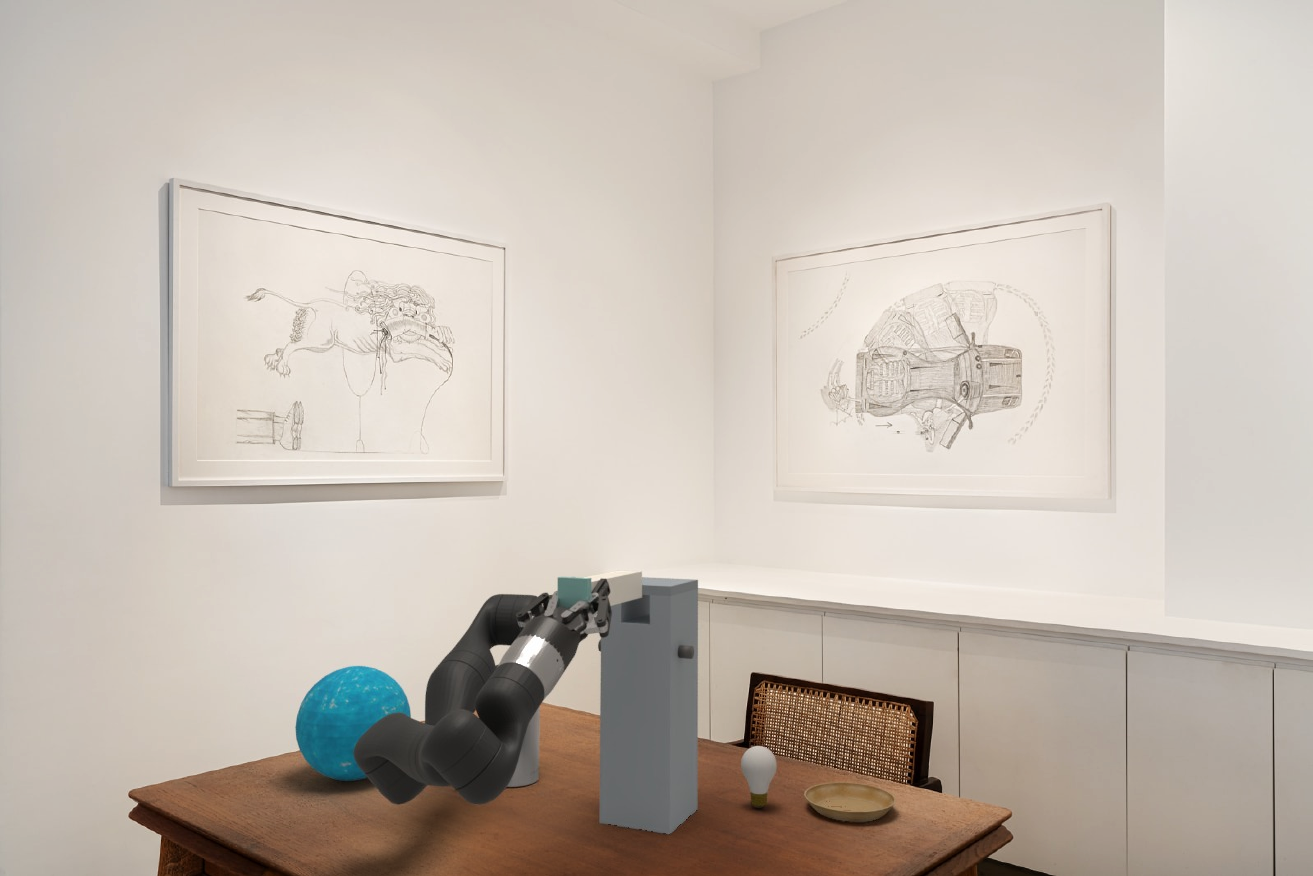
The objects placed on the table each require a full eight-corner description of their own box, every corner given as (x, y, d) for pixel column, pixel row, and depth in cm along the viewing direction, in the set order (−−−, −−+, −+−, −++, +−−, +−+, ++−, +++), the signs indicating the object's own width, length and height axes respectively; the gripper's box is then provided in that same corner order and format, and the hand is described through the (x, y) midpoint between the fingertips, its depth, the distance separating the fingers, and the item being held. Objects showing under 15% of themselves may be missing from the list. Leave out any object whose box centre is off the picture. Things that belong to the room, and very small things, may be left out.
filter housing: (588, 821, 146) (590, 582, 148) (620, 798, 157) (622, 576, 159) (681, 836, 140) (682, 587, 142) (708, 811, 151) (709, 580, 153)
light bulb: (780, 804, 155) (779, 743, 155) (772, 816, 149) (772, 753, 150) (745, 800, 157) (745, 740, 157) (737, 811, 151) (737, 749, 152)
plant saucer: (839, 834, 142) (839, 816, 142) (787, 804, 155) (787, 788, 156) (915, 820, 148) (915, 803, 148) (858, 792, 162) (858, 777, 162)
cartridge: (557, 611, 127) (557, 577, 127) (616, 596, 144) (617, 566, 144) (587, 613, 125) (587, 578, 125) (643, 597, 142) (643, 567, 143)
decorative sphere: (360, 802, 154) (363, 681, 155) (268, 788, 162) (271, 672, 163) (432, 769, 173) (434, 661, 174) (346, 757, 180) (348, 654, 181)
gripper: (579, 641, 113) (630, 562, 127) (480, 633, 118) (540, 558, 132) (592, 689, 116) (641, 607, 130) (495, 679, 121) (552, 601, 135)
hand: (590, 583), depth 131 cm, fingers closed on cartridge, 4 cm apart
